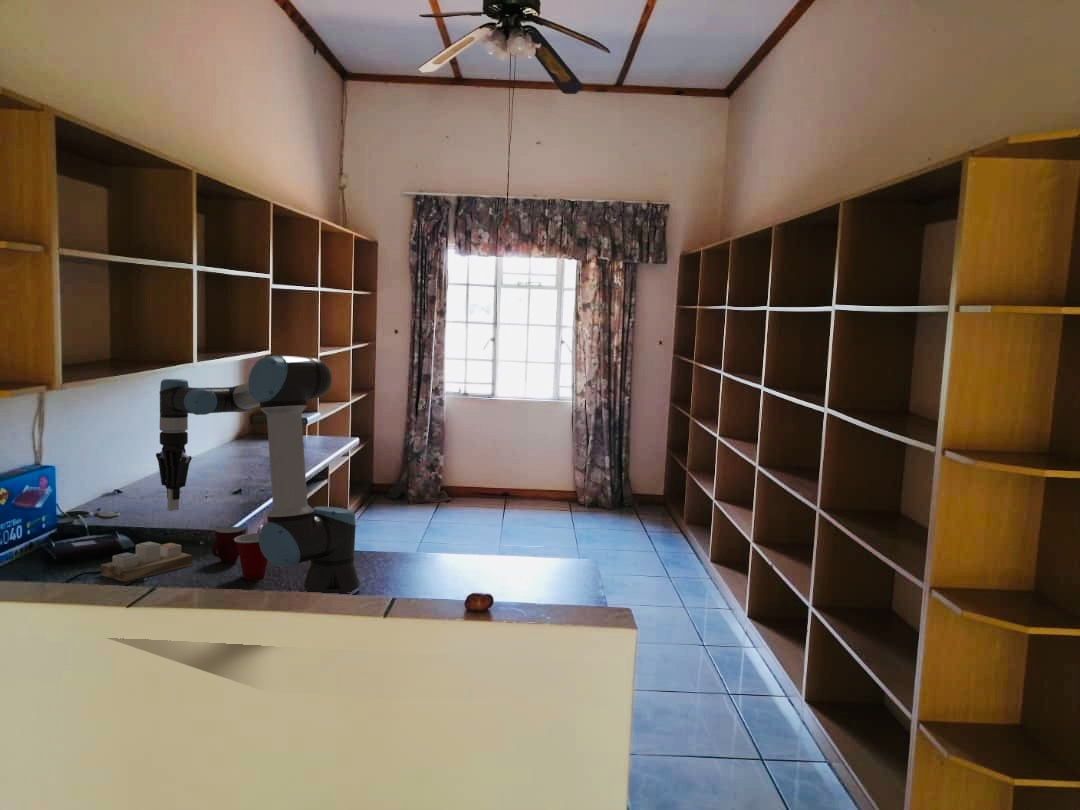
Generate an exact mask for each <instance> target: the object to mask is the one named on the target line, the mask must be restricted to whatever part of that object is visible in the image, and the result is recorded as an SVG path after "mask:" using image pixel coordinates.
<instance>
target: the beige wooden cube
mask: <svg viewBox="0 0 1080 810" xmlns="http://www.w3.org/2000/svg"><path fill="white" fill-rule="evenodd" d="M160 545H161V544H160V543H157V542H154V541H153V542H152V541H145V542H141V543H138V544H135V555H138V562H141V563H145V564H146V563H150V562H154V561H158V560H160Z"/></svg>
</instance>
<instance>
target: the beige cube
mask: <svg viewBox="0 0 1080 810" xmlns="http://www.w3.org/2000/svg"><path fill="white" fill-rule="evenodd" d="M181 553H182V545H181V544H179V543H178V544H177V543H173V542H168V543H164V544H160V557H164V558H170V557H174V556H178V555H181Z"/></svg>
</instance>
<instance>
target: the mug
mask: <svg viewBox="0 0 1080 810" xmlns="http://www.w3.org/2000/svg"><path fill="white" fill-rule="evenodd" d="M214 530H215V531H214V532H215V533H214V539H215V541H214V543H213V544H212V548H211V552H212V555H213V556H214V557H216V558H219V560H220V561H221V563H222V564H234V563H236V562H237V560H238V559H239V558H240V556H239V551H238V547H237V544H236V542H235V541H234V539H235V538H236V537H238V536H241V535H244V528H243V527H240V526H222V527H219V528H216V529H214Z"/></svg>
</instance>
